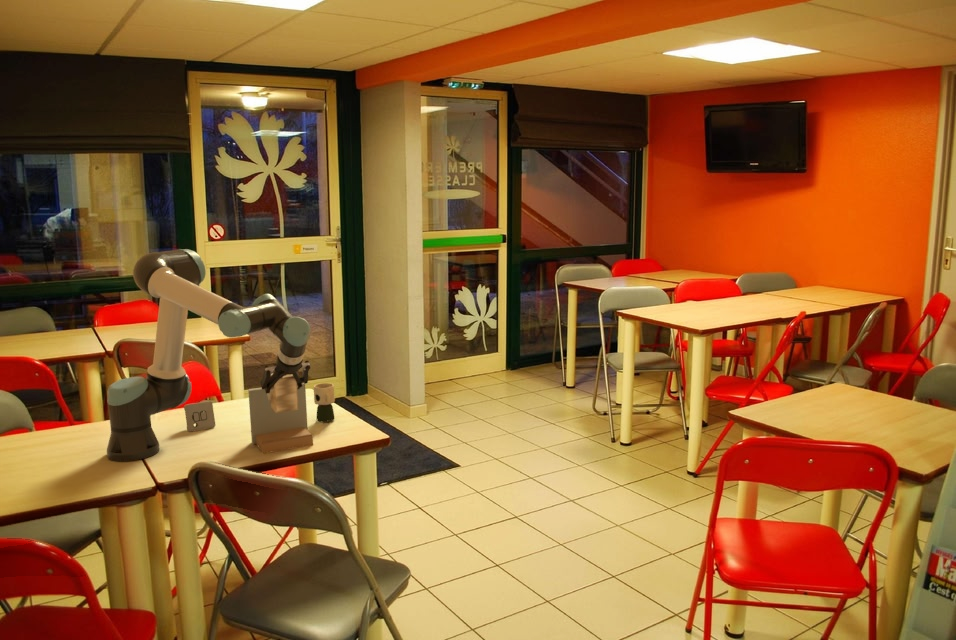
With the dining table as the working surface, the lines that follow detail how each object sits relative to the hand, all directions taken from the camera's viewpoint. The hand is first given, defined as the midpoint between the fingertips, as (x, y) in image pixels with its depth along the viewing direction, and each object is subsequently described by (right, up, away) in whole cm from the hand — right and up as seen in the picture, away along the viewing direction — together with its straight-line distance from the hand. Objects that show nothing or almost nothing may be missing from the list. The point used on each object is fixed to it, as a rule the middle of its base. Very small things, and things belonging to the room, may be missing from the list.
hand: (281, 394), depth 250 cm
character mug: (+9, -12, +26) cm, 30 cm away
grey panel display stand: (+1, -16, +2) cm, 16 cm away
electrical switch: (-33, -14, +20) cm, 41 cm away
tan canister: (+2, -4, -3) cm, 5 cm away
